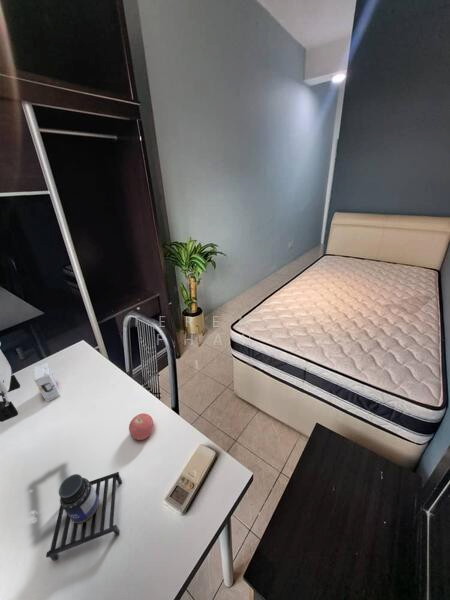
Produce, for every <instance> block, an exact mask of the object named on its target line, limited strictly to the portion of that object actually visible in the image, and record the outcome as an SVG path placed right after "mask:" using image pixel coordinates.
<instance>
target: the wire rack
mask: <svg viewBox="0 0 450 600" xmlns="http://www.w3.org/2000/svg"><path fill="white" fill-rule="evenodd" d="M111 479H112V484H111V485H112V486H111V498H110V510H109V525H108V527H107V528H105V526H106V525H105V524H106V513H107V501H108V490H109V481H110V480H111ZM89 482H90V484H91V485H92V486H93V485H96V487H95V492H96V494H97V496H98V498H99V499H100V491H101V483H103V482H104V485H103V495H102V505H101V515H100V525H99V531H98V532H96V524H97V518H98V517H97V516H98V510H97V511H96V513H95V514H94V516H93V517H92V518H91V525H90V531H89V535H87V536H86V534H87V533H86V532H87V527H88V526H87V525H88V521H87V522H84V523H82V524H81V525H82V526H81V531H80V538H79V539H77V533H78V528H79V524H76V523H74V522H73V527H72V532H71V537H70V542H69V543H67V539H68V533H69V529H70V523H71V518H70V517H69V515H68V514H67V513H66V518H65V522H64V527H63V531H62V537H61V541H60V546H59V547H57V543H58V538H59V534H60V529H61V525H62V520H63V514H64V512H65V510H64V509H63V507H62V506H61V504H60V506H59V510H58V515H57V520H56V523H55V528H54V532H53V536H52V541H51V545H50V549H49V550H48V551H46V553H45V554H46V555H45V557H46V558H49V559H51V560H52V561H53V562H54V561H56V560H58V558H59V557H58V556H59V554H60V553H63V552H65V551H67V550H71V549H72V548H75V547H78V546H80V545H83V544H85V543H89V542H91V541H93V540H96V539H98V538H101V537H103V536H105V535H108V534H110V533H114V535H115V536H120V532H121V530H120V529H119V527H118V525H117V524H114V521H115V506H116V493H117V483H118V485H122V484H123V479H122V477H121V475H120V472H119V471H117V472H116V471H115V472H113V473H111V474H109V475H108V474H107V475H105V476H102V477H98V478H96V479H92V480H91V481H89Z"/></svg>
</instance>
